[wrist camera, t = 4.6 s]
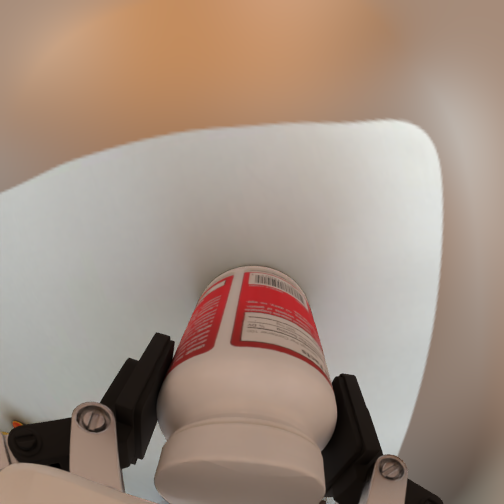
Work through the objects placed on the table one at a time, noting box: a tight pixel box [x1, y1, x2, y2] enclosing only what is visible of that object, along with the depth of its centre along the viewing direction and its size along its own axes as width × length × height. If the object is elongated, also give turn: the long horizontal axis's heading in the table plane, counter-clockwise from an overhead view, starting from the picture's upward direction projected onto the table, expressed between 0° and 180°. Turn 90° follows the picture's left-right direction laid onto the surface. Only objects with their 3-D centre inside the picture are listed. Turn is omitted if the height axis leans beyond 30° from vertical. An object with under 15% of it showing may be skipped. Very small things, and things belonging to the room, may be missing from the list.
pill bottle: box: [154, 266, 337, 504], centre depth 11 cm, size 6×6×11 cm
